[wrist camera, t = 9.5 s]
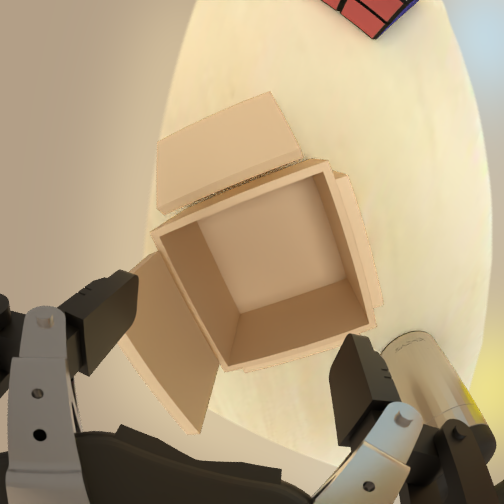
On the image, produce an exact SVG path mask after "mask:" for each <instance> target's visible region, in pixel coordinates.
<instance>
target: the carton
mask: <svg viewBox="0 0 504 504" xmlns="http://www.w3.org/2000/svg"><path fill="white" fill-rule="evenodd" d="M150 234H151V236H152V239H153V241H154V243H155V245H156V247H157V249H158V251H159V252H160V254H161V256H162V258H163V260H164V262H165V264H166V266H167V268H168V270H169V272H170V274H171V276H172V278H173V280H174V282H175V284H176V286H177V288H178V290H179V292H180V294H181V296H182V298H183V299H184V301H185V303H186V305H187V307H188V309H189V311H190V312H191V314H192V316H193V318H194V320H195V322H196V323H197V325H198V327H199V329H200V330H201V332H202V334H203V336H204V338H205V339H206V341H207V343H208V345H209V346H210V348H211V350H212V351H213V353H214V355H215V356H216V358H217V360H218V362H219V363H220V365H221V367H222V369H223V370H224V372H229V371H233V370H237V369H242V368H243V370H244V372H245V373H248V372H252V371H256V370H260V369H264V368H268V367H272V366H276V365H279V364H283V363H287V362H290V361H294V360H297V359H301V358H304V357H307V356H311V355H314V354H317V353H320V352H324V351H327V350H330V349H333V348H336V347H339V346H342V344H343V341H344V339H345V337H346V336H347V335H348V334H349V333H352V334H356V335H360V333H362V332H365V331H367V330H370V329H373V328H375V327H377V324H376V320H375V315H374V311H373V309H374V308H377V307H379V306H382V305H384V302H383V297H382V293H381V288H380V284H379V280H378V276H377V271H376V267H375V263H374V259H373V255H372V252H371V248H370V244H369V241H368V237H367V233H366V230H365V226H364V223H363V220H362V216H361V213H360V210H359V207H358V203H357V200H356V197H355V194H354V191H353V188H352V185H351V182H350V179H349V176H348V175H346V174H343V173H339V172H336V171H333V170H332V169H331V166H330V164H329V161H328V160H321V159H309V160H306V161H303V162H300V163H298V164H295V165H292V166H290V167H287V168H284V169H281V170H279V171H276V172H274V173H271V174H268V175H266V176H263V177H261V178H258V179H256V180H253V181H251V182H248V183H246V184H243V185H241V186H238V187H236V188H233V189H231V190H228V191H226V192H223V193H221V194H219V195H216V196H214V197H212V198H209V199H207V200H205V201H202V202H200V203H198V204H195V205H193V206H191V207H189V208H186V209H185V210H183V211H182V212H180V213H179V214H177V215H175V216H174V217H172V218H171V219H169V220H168V221H166V222H165V223H163V224H162V225H160V226H159V227H157V228H156V229H154V230H153V231H151V232H150Z"/></svg>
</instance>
